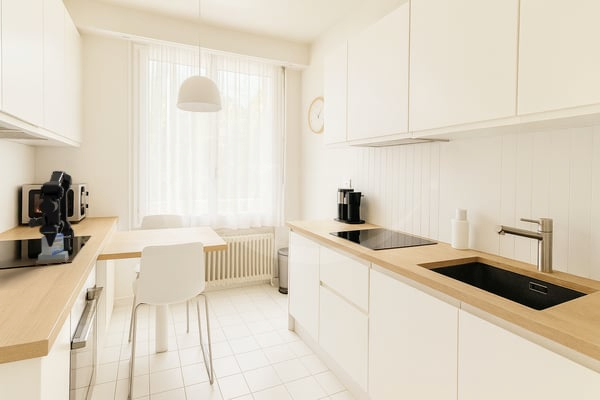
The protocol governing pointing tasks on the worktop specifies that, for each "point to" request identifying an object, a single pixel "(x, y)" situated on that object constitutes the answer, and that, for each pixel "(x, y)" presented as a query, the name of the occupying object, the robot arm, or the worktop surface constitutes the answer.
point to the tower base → (52, 261)
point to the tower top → (53, 256)
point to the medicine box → (56, 246)
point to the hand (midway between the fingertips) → (52, 244)
